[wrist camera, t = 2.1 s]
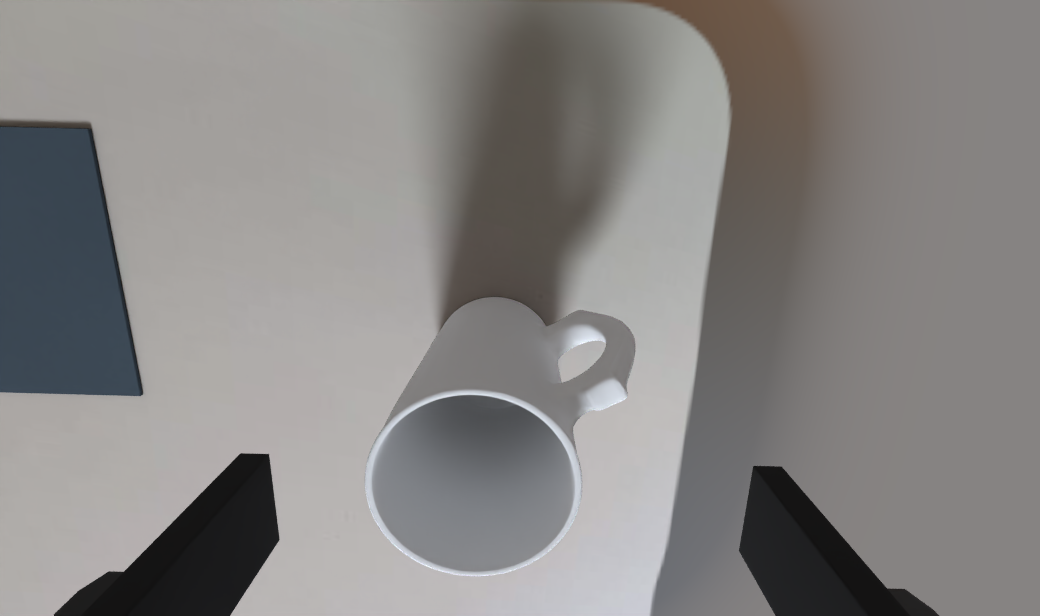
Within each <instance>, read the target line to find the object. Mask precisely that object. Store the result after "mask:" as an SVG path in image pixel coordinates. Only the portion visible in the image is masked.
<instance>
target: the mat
mask: <svg viewBox="0 0 1040 616" xmlns="http://www.w3.org/2000/svg"><path fill="white" fill-rule="evenodd" d="M0 392H13V393H49V394H86V395H123V396H141V395H143V393H142V388H141V383H140V378H139V373H138V368H137V363H136V357H135V352H134V347H133V342H132V337H131V332H130V327H129V322H128V316H127V311H126V306H125V301H124V296H123V291H122V286H121V281H120V275H119V270H118V265H117V260H116V255H115V250H114V245H113V240H112V234H111V229H110V224H109V219H108V214H107V209H106V204H105V199H104V194H103V188H102V183H101V178H100V173H99V168H98V163H97V158H96V153H95V147H94V142H93V137H92V132H91V129H80V128H39V127H0Z"/></svg>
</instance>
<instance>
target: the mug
mask: <svg viewBox="0 0 1040 616" xmlns="http://www.w3.org/2000/svg"><path fill="white" fill-rule="evenodd" d="M596 340H600V341H603V342H605V343H606V347H605V350H604V352H603V354H602V355H601V357H600V358H599V359H598V360H597V362H596V363H595V364H594V365H593V366H591V367H590V368H589V369H588V370H587V371H585V372H584V373H582V374H581V375H579V376H578V377H575V378H573V379H571V380H569V381H566V382H563V383H562V382H561V378H560V373H559V368H558V360H559V358H560V356H561V355H563V354H564V353H565V352H567V351H568V350H570V349H572V348H574V347H575V346H577V345H579V344H582V343H585V342H589V341H596ZM634 356H635V340H634V337H633V334H632V333H631V331H630V329H629V328H628V327H627V326H626V325H625V324H624V323H623V322H621V321H620V320H618V319H616V318H613V317H611V316H607V315H603V314H598V313H593V312H589V311H584V310H578V311H575V312H573V313H571V314H569V315H568V316H566V317H565V318H563V319H561V320H559V321H558V322H556V323H554V324H551V325H549V326H546V325H545V324H544V322H543V321H542V319H541V318H540V317H539V316H538V315H537V314H536V313H535V312H534V311H533V310H531V309H530V308H529V307H527V306H525V305H524V304H522V303H520V302H517V301H515V300H512V299H508V298H502V297H487V298H481V299H477V300H474V301H471V302H469V303H467V304H465V305H463V306H462V307H460V308H459V309H458V310H456V311H455V312H454V313H453V314H452V315H451V316H450V317H449V318H448V320H447V321H446V323H445V324H444V326H443V327H442V329H441V330H440V332H439V333H438V335H437V336H436V338H435V339H434V341H433V343H432V344H431V346H430V348H429V350H428V351H427V353H426V355H425V356H424V358H423V360H422V361H421V363H420V365H419V366H418V368H417V370H416V371H415V373H414V375H413V376H412V378H411V379H410V381H409V383H408V384H407V386H406V388H405V389H404V391H403V393H402V394H401V396H400V398H399V399H398V401H397V403H396V404H395V406H394V408H393V410H392V412H391V414H390V415H389V417H388V419H387V421H386V423H385V425H384V427H383V429H382V430H381V432H380V433H379V435H378V436H377V438H376V440H375V442H374V444H373V446H372V448H371V451H370V453H369V457H368V460H367V465H366V471H365V490H366V496H367V501H368V505H369V508H370V510H371V513H372V515H373V518H374V520H375V521H376V523H377V525H378V527H379V528H380V530H381V531H382V533H383V534H384V535H385V536H386V538H387V539H388V540H389V541H390V542H391V543H392V544H393V545H394V546H395V547H397V548H398V549H399V550H400V551H402V552H403V553H404V554H406V555H407V556H409V557H410V558H412V559H414V560H415V561H417V562H419V563H421V564H423V565H425V566H427V567H430V568H433V569H435V570H438V571H442V572H446V573H450V574H455V575H462V576H490V575H497V574H502V573H506V572H510V571H513V570H516V569H519V568H522V567H524V566H526V565H528V564H530V563H532V562H534V561H536V560H537V559H539V558H541V557H542V556H544V555H545V554H546V553H548V552H549V551H550V550H551V549H552V548H553V547H554V546H556V545H557V544H558V542H559V541H560V540H561V539H562V538H563V537H564V535H565V534H566V533H567V531H568V530H569V528H570V526H571V525H572V523H573V521H574V519H575V517H576V514H577V511H578V508H579V505H580V501H581V495H582V473H581V467H580V462H579V459H578V456H577V452H576V446H575V441H574V436H573V426H574V425H575V423H576V421H577V420H578V419H579V418H580V417H581V416H582V415H584V414H585V413H587V412H589V411H591V410H603V409H605V408H608V407H610V406H612V405H614V404H616V403H618V402H620V401H623V400H624V399H626V397H627V388H626V385H627V381H628V378H629V375H630V372H631V369H632V365H633V361H634Z"/></svg>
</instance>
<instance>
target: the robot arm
mask: <svg viewBox="0 0 1040 616" xmlns="http://www.w3.org/2000/svg"><path fill="white" fill-rule="evenodd" d="M278 541H279V532H278V524H277V516H276V508H275V500H274V492H273V483H272V475H271V467H270V459H269V454H242V453H241V454H240V455H239V456H238V457H237V458H236V459H235V460H234V461H233V462H232V463H231V464H230V465H229V466H228V467H227V468H226V469H225V470H224V471H223V472H222V473H221V474H220V475H219V476H218V477H217V478H216V479H215V480H214V481H213V482H212V483H211V484H210V485H209V486H208V487H207V488H206V489H205V490H204V491H203V492H202V493H201V494H200V495H199V496H198V497H197V498H196V499H195V500H194V501H193V502H192V503H191V504H190V505H189V506H188V507H187V508H186V509H185V510H184V511H183V512H182V513H181V514H180V515H179V516H178V517H177V518H176V520H175V521H174V522H173V523H172V524H171V525H170V526H169V527H168V528H167V529H166V530H165V531H164V532H163V533H162V534H161V535H160V536H159V537H158V538H157V539H156V540H155V541H154V542H153V543H152V544H151V545H150V546H149V547H148V548H147V549H146V550H145V551H144V552H143V553H142V554H141V555H140V556H139V557H138V558H137V559H136V560H135V561H134V562H133V563H132V564H131V565H130V566H129V567H128V568H127V569H126V570H125V571H124V572H107V573H106V574H104V575H103V576H101V577H100V578H98V579H96V580H95V581H93V582H92V583H90V584H89V585H87V586H86V587H84V588H82V589H81V590H79V591H78V592H77V593H76V594H75V595H74V596H73V597H72V598H71V599H70V600H69V601H67V602H66V603H65V604H64V605H63V606H62V607H61V608H60V609H59V610H58V611H57V612H56V613H55V614H54V616H230V615H231V613H232V612H233V610H234V609H235V607H236V605H237V604H238V602H239V601H240V599H241V598H242V596H243V595H244V593H245V592H246V590H247V589H248V587H249V586H250V584H251V582H252V581H253V579H254V578H255V576H256V575H257V573H258V572H259V570H260V569H261V567H262V566H263V564H264V563H265V561H266V560H267V558H268V556H269V555H270V553H271V552H272V550H273V549H274V547H275V546H276V544H277V543H278ZM739 551H740V553H741V555H742V557H743V559H744V561H745V562H746V564H747V566H748V568H749V569H750V571H751V573H752V575H753V576H754V578H755V580H756V582H757V584H758V585H759V587H760V589H761V590H762V592H763V594H764V596H765V598H766V600H767V601H768V603H769V605H770V607H771V608H772V610H773V612H774V614H775V615H776V616H939V615H938V614H937V613H936V612H935V611H934V610H933V609H931V608H930V607H929V606H927V605H926V604H925V603H923V602H922V601H920V600H919V599H918V598H916V597H915V596H914V595H912V594H911V593H909V592H908V591H907V590H905V589H887V588H886V587H885V586H884V585H883V583H882V582H881V581H880V580H879V579H878V578H877V577H876V575H875V574H874V573H873V572H872V571H871V570H870V568H869V567H868V566H867V565H866V564H865V563H864V561H863V560H862V559H861V558H860V557H859V556H858V555H857V554H856V552H855V551H854V550H853V549H852V548H851V547H850V545H849V544H848V543H847V542H846V541H845V540H844V538H843V537H842V536H841V535H840V534H839V533H838V531H837V530H836V529H835V528H834V527H833V526H832V525H831V523H830V522H829V521H828V520H827V519H826V518H825V516H824V515H823V514H822V513H821V512H820V511H819V510H818V508H817V507H816V506H815V505H814V504H813V502H812V501H811V500H810V499H809V498H808V497H807V496H806V495H805V493H804V492H803V491H802V490H801V489H800V487H799V486H798V485H797V484H796V483H795V482H794V480H793V479H792V478H791V477H790V476H789V475H788V474H787V472H786V471H785V470H784V469H783V468H782V467H774V466H754V467H753V472H752V477H751V483H750V489H749V495H748V501H747V507H746V512H745V518H744V525H743V530H742V536H741V542H740V548H739Z"/></svg>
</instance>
